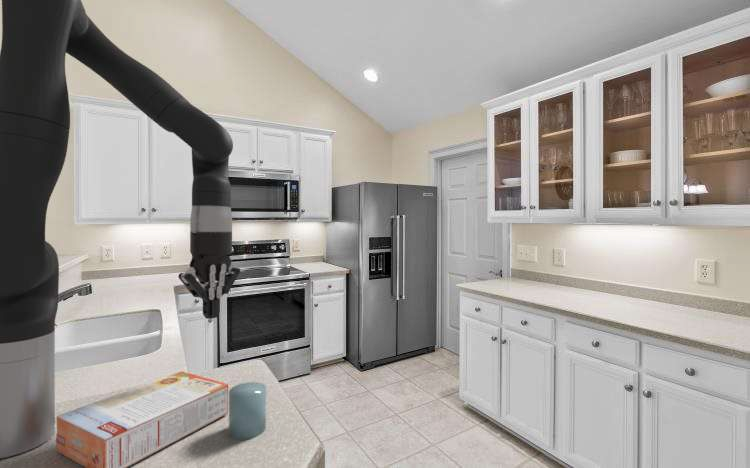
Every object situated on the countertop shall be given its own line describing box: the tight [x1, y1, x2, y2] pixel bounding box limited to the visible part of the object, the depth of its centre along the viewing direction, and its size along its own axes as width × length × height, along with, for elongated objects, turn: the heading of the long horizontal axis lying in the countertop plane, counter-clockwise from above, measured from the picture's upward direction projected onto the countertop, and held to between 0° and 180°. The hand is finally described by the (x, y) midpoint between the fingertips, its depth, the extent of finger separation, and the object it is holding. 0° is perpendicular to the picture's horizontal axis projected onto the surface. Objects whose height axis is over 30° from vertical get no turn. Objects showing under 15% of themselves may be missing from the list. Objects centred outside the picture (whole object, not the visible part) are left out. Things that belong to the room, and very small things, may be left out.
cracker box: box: [55, 371, 229, 468], centre depth 62 cm, size 14×6×21 cm
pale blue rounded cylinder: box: [228, 381, 267, 441], centre depth 63 cm, size 6×6×7 cm
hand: (211, 317), depth 72 cm, fingers closed
